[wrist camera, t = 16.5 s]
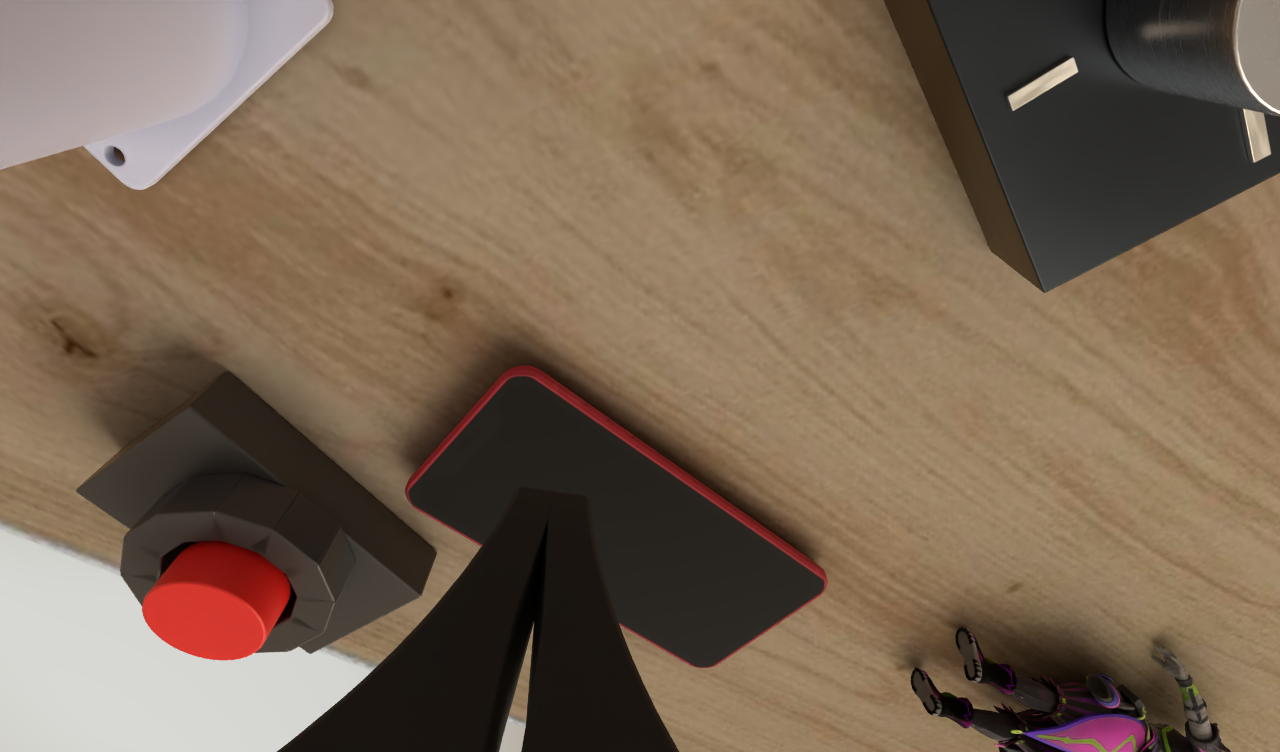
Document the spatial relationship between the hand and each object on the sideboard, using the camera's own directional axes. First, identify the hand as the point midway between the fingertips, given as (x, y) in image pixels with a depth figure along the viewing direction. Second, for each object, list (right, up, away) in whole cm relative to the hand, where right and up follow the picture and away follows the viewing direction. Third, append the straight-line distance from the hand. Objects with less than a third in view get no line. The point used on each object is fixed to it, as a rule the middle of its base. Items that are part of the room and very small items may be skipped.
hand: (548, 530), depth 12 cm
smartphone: (+1, -3, +13) cm, 13 cm away
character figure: (+22, -12, +18) cm, 30 cm away
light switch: (-12, -2, +12) cm, 17 cm away
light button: (-12, -4, +9) cm, 15 cm away
